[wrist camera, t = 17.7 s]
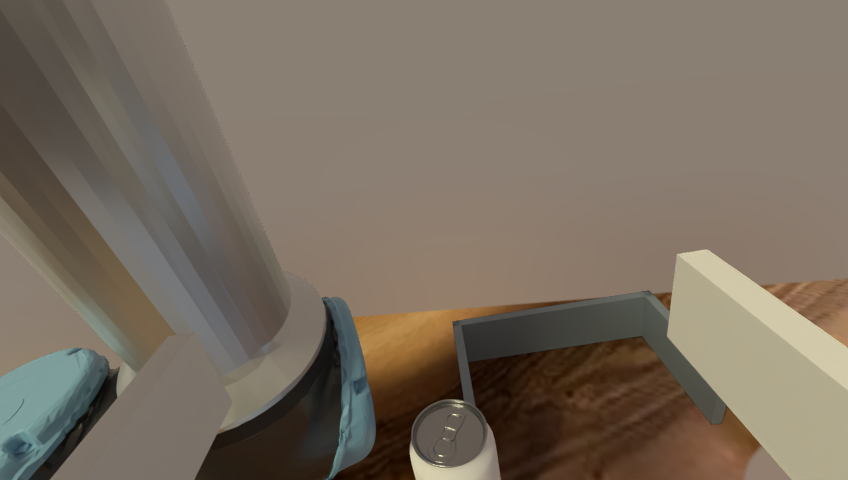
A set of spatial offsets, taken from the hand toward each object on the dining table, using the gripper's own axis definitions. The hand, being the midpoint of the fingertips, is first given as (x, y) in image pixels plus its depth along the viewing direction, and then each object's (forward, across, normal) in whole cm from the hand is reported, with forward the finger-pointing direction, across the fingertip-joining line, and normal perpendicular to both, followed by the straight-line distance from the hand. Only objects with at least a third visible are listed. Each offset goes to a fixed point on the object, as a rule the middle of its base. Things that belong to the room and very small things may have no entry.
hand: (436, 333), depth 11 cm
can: (+11, -1, -30) cm, 32 cm away
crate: (+24, +12, -30) cm, 40 cm away
